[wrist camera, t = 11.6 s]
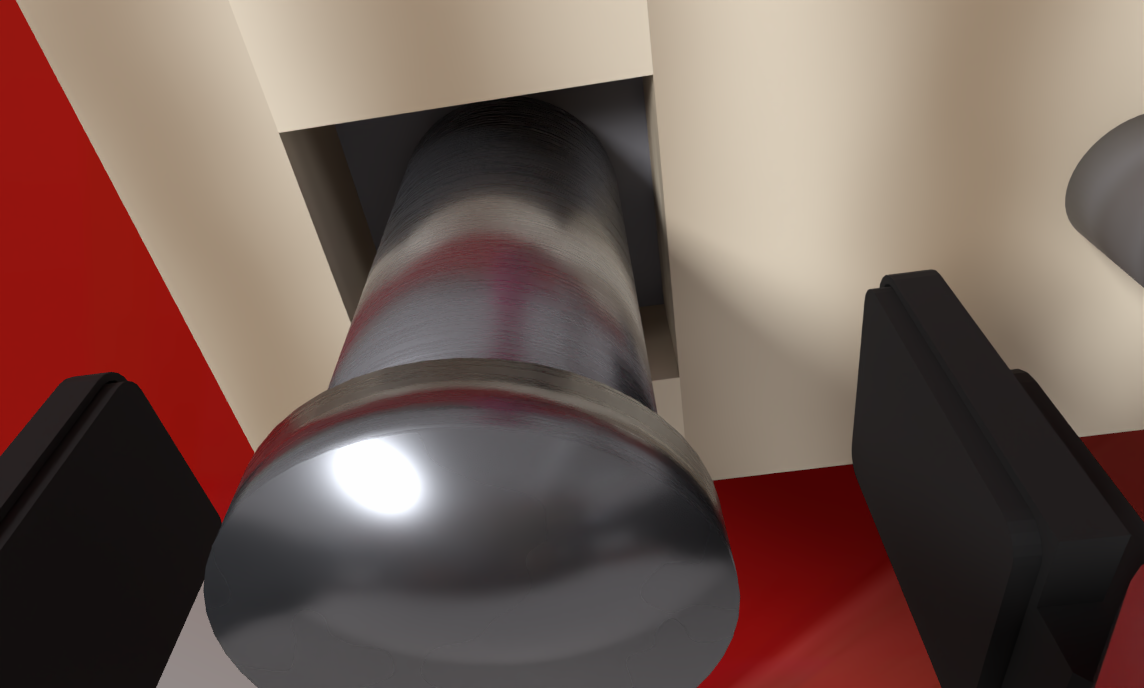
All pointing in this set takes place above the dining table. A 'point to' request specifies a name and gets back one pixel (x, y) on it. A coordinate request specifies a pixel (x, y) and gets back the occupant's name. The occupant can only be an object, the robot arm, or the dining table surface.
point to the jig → (651, 180)
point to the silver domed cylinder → (483, 452)
